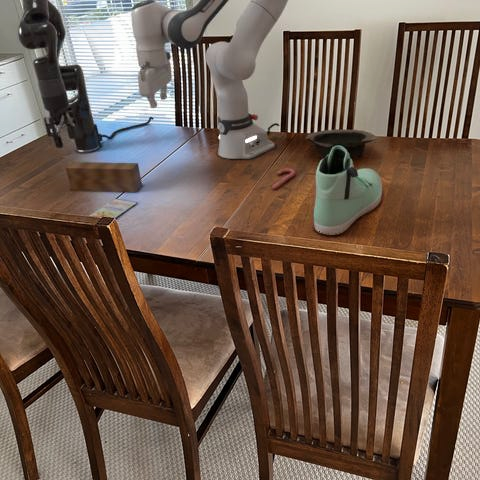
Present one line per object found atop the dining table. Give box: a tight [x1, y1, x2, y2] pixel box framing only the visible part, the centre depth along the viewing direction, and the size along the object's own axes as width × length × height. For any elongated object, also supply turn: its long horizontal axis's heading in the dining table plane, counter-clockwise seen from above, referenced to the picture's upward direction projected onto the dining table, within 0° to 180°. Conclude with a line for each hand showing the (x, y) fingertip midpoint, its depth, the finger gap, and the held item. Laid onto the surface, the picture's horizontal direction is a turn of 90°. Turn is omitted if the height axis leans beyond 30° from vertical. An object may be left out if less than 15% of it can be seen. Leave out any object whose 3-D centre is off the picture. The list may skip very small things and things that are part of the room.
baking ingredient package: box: [88, 198, 137, 219], centre depth 147 cm, size 9×1×15 cm
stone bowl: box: [304, 128, 378, 159], centre depth 171 cm, size 25×25×9 cm
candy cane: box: [272, 167, 296, 190], centre depth 158 cm, size 6×15×2 cm, turn 145°
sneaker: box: [313, 146, 383, 236], centre depth 133 cm, size 14×35×20 cm, turn 152°
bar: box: [65, 161, 143, 193], centre depth 161 cm, size 24×5×8 cm, turn 78°
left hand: (66, 142), depth 157 cm, fingers open, 8 cm apart
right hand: (159, 103), depth 157 cm, fingers open, 8 cm apart
